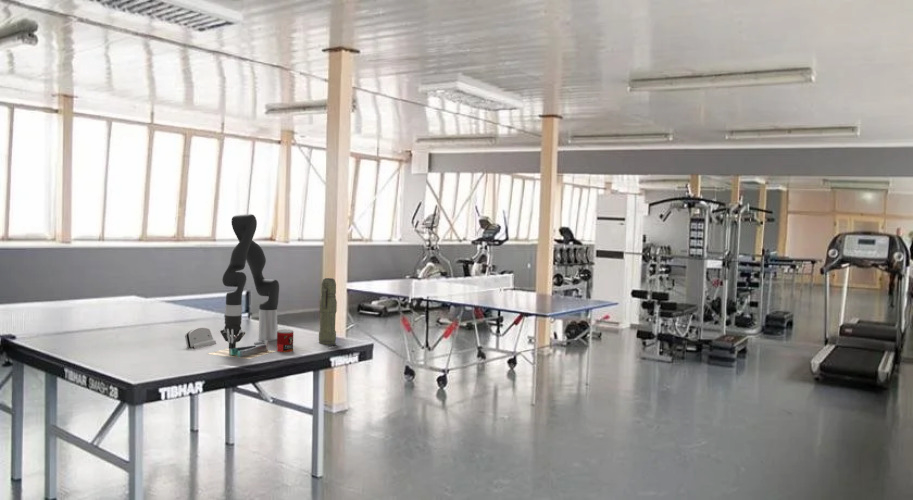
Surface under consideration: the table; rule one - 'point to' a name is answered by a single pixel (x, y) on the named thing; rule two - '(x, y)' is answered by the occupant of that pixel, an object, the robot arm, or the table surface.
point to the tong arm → (242, 348)
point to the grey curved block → (199, 338)
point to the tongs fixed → (253, 350)
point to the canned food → (285, 340)
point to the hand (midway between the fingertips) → (232, 350)
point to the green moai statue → (328, 312)
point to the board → (226, 353)
